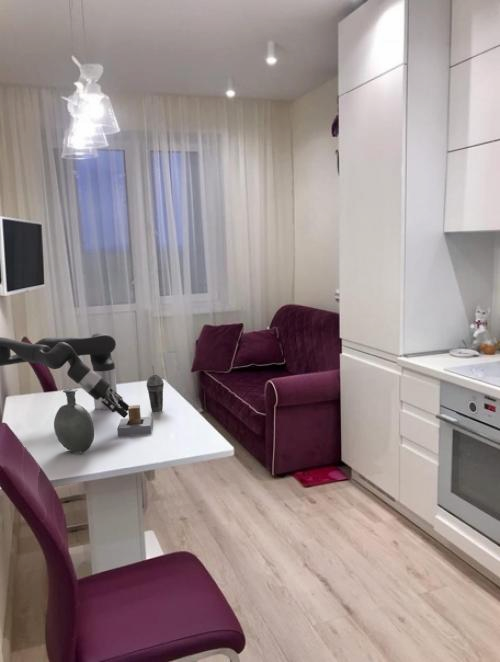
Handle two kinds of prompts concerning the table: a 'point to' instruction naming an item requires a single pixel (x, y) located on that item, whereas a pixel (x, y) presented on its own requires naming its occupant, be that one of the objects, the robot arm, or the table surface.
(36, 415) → the table surface
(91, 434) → the flask
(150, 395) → the beverage cup
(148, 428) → the socket
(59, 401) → the table surface
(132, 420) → the peg
